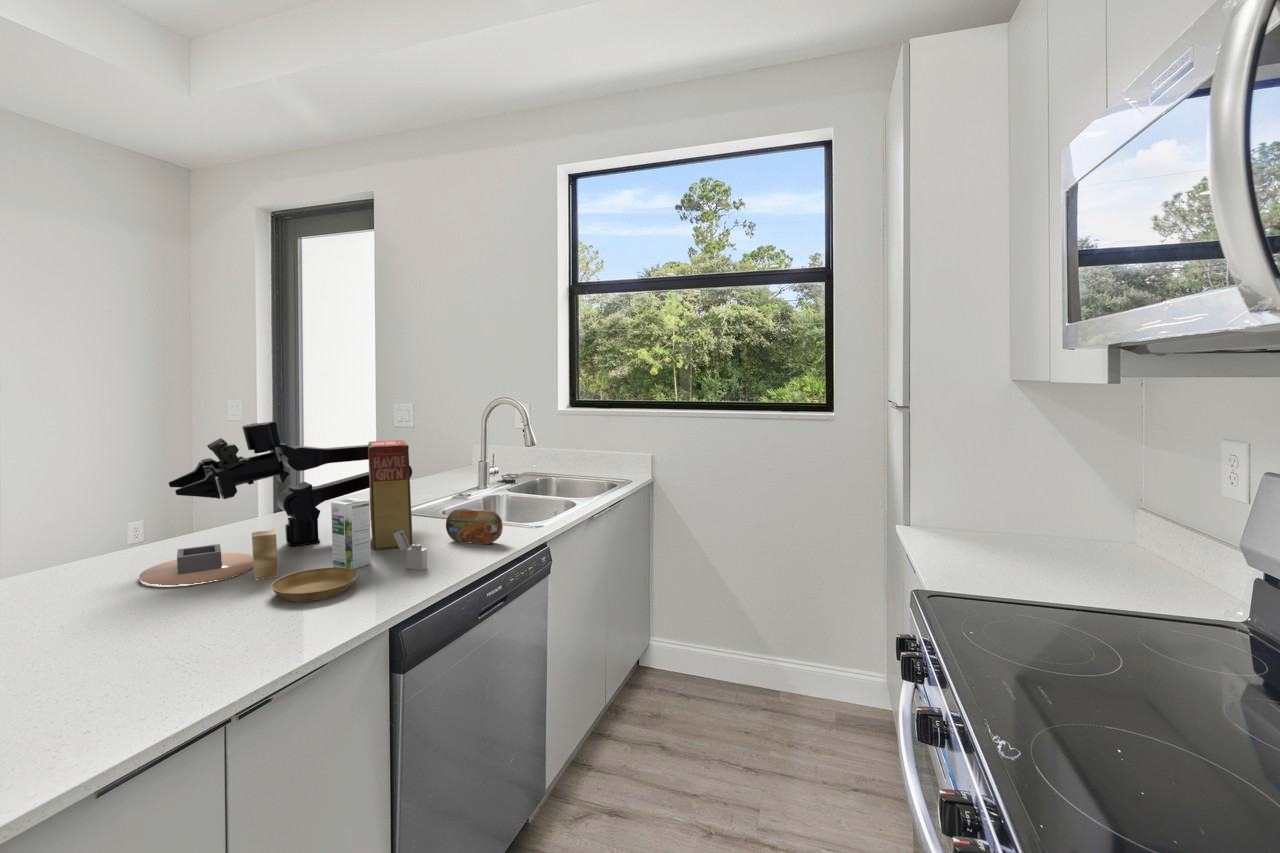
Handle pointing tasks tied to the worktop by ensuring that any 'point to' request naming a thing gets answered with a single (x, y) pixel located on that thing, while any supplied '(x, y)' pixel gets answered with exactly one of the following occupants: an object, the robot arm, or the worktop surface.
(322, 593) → the plant saucer
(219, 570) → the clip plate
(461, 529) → the tin
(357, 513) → the syrup box
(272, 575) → the oak peg
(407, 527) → the food packaging
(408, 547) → the lighter
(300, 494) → the robot arm
